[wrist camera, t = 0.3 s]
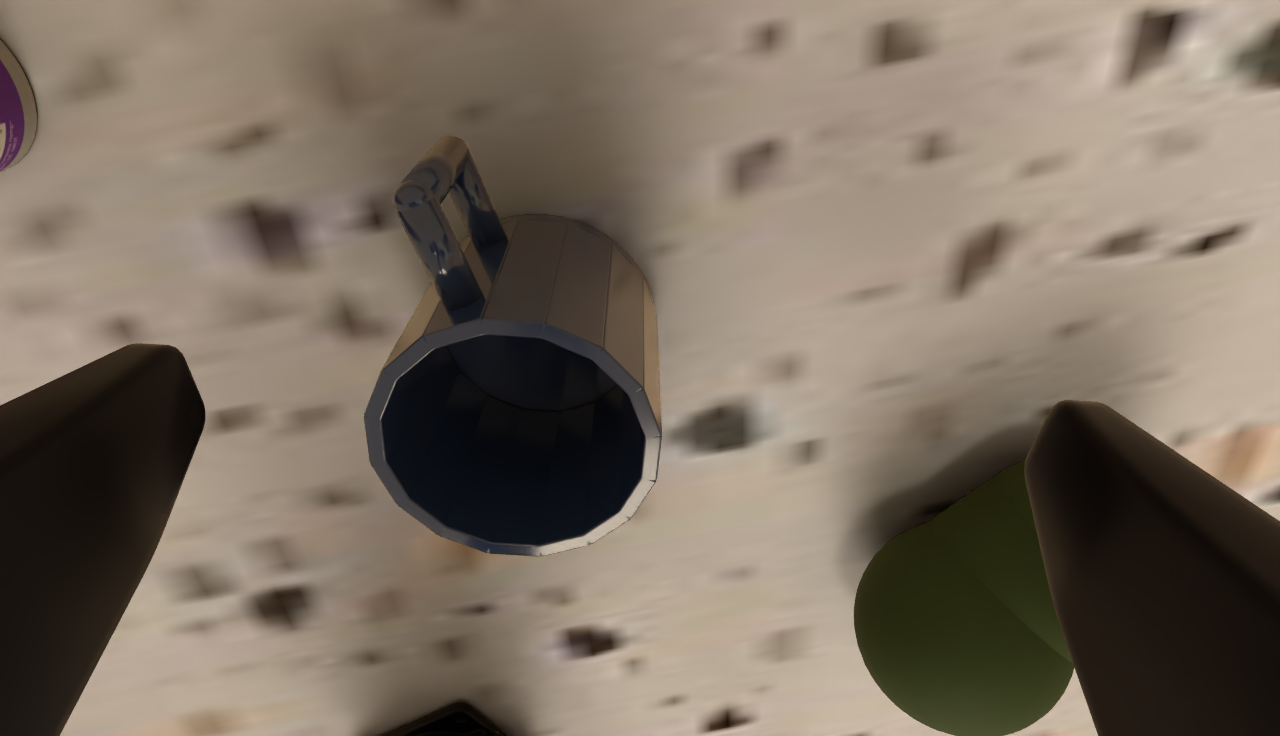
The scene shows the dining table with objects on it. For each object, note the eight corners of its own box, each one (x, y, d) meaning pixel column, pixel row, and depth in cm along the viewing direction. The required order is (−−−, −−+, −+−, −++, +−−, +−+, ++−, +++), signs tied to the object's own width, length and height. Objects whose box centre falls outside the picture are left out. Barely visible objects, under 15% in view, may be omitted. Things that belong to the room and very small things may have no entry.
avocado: (909, 637, 31) (972, 807, 25) (797, 555, 28) (837, 722, 23) (1169, 477, 26) (1318, 637, 21) (1062, 364, 24) (1196, 510, 18)
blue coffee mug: (682, 380, 24) (694, 520, 19) (486, 433, 25) (444, 580, 20) (577, 79, 20) (552, 147, 14) (342, 160, 21) (233, 253, 15)
